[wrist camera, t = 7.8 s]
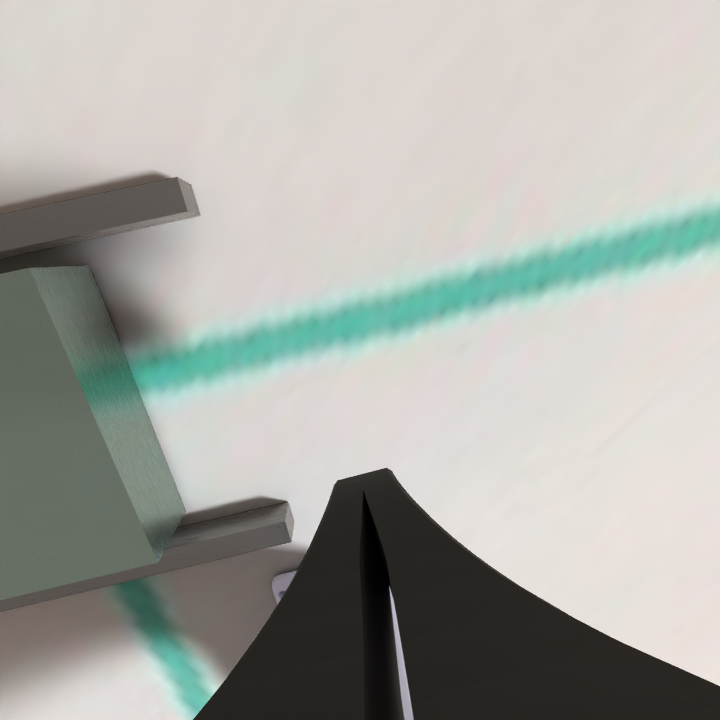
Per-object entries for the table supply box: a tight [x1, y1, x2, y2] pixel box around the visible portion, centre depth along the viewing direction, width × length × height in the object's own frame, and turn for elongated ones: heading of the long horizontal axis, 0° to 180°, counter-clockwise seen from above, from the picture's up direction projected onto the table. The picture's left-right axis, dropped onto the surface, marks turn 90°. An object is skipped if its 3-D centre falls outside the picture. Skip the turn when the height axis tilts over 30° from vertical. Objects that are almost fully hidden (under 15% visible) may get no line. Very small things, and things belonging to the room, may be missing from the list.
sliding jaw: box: [0, 266, 186, 600], centre depth 16 cm, size 12×10×3 cm
